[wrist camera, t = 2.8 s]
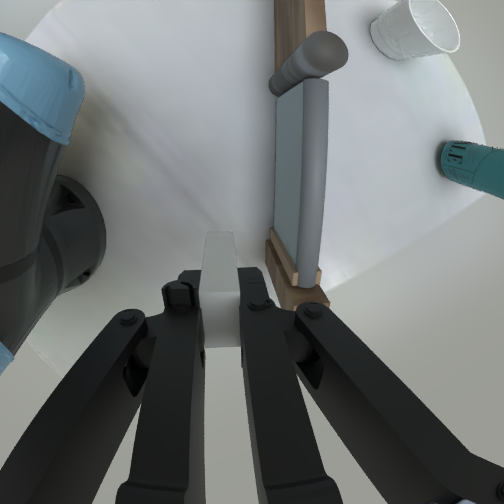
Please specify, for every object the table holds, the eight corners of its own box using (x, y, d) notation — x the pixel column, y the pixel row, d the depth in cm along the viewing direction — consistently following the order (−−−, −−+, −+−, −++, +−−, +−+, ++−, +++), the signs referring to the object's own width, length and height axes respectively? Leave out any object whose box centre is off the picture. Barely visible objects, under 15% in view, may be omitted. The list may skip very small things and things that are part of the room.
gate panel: (272, 98, 26) (303, 76, 15) (294, 100, 26) (336, 81, 15) (270, 237, 32) (293, 289, 22) (289, 237, 32) (321, 287, 22)
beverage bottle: (455, 183, 33) (554, 227, 14) (429, 174, 32) (541, 218, 14) (461, 145, 30) (564, 173, 12) (435, 132, 29) (551, 155, 11)
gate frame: (265, 262, 34) (290, 335, 22) (267, -25, 19) (293, -90, 6) (288, 261, 35) (324, 331, 22) (291, -22, 19) (327, -83, 7)
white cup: (418, 65, 25) (467, 57, 16) (375, 63, 25) (423, 47, 16) (402, 18, 22) (446, 0, 13) (357, 12, 22) (398, -15, 13)
